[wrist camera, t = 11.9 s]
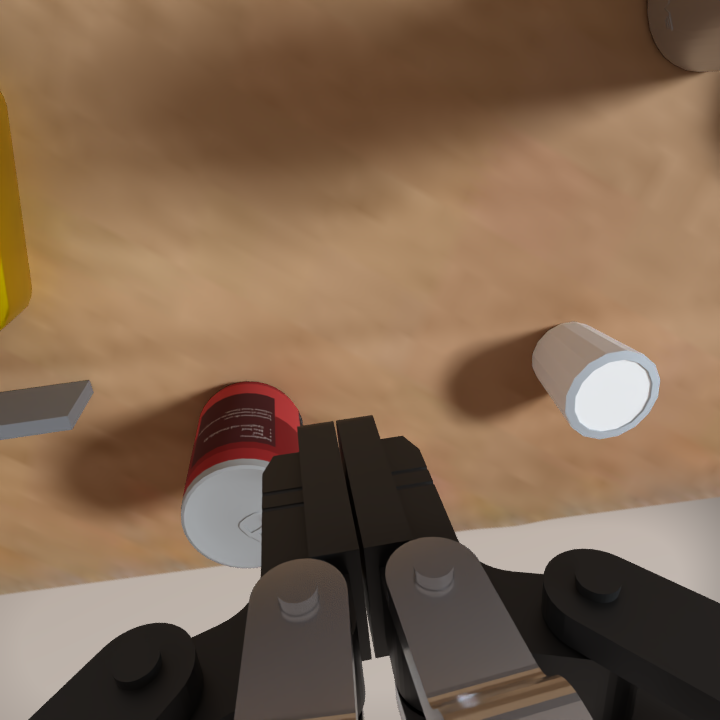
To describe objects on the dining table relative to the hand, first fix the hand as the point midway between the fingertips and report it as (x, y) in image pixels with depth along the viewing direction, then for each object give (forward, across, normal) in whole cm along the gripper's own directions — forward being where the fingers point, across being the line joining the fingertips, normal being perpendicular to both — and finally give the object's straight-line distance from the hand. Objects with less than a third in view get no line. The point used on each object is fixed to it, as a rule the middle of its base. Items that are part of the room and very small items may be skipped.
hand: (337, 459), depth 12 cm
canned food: (+29, +5, +16) cm, 34 cm away
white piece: (+29, -20, +14) cm, 38 cm away
